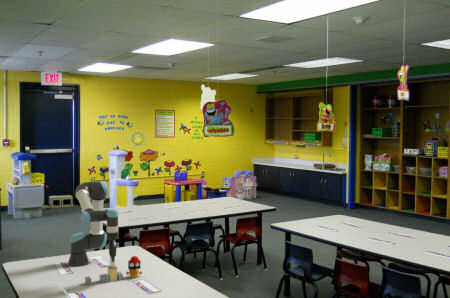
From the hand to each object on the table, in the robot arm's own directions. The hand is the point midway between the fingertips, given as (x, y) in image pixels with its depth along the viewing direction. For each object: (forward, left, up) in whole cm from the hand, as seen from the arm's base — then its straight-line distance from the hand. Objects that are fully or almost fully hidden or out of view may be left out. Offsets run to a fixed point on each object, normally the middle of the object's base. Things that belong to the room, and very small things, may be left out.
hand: (112, 265), depth 307 cm
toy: (-2, +16, -11) cm, 20 cm away
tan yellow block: (0, 0, -10) cm, 10 cm away
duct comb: (0, -6, -11) cm, 12 cm away
